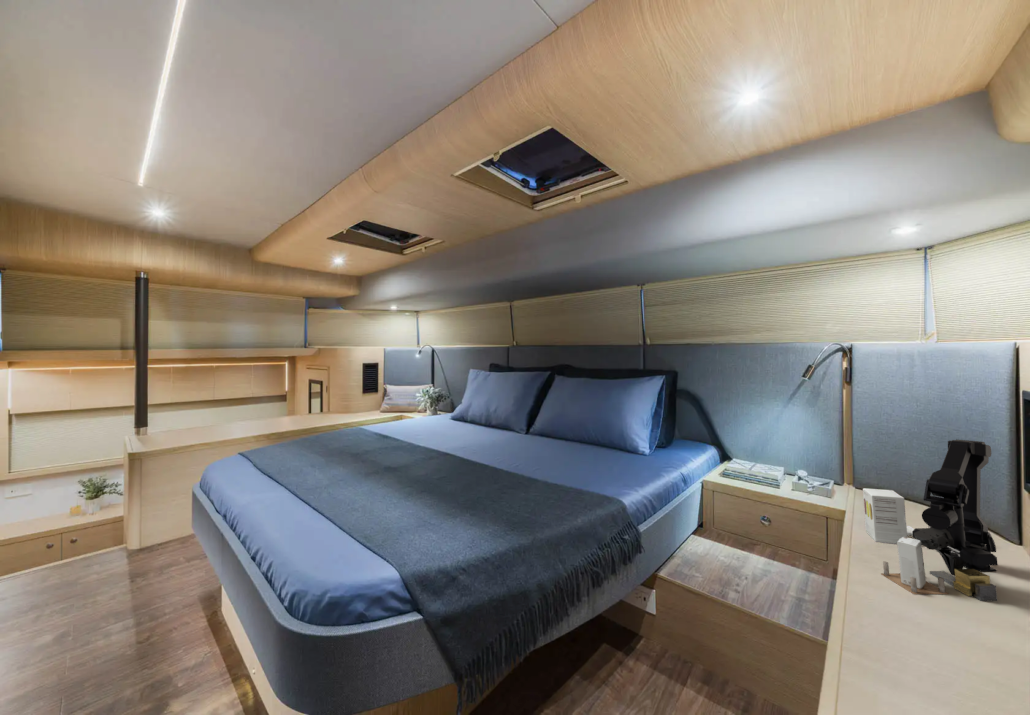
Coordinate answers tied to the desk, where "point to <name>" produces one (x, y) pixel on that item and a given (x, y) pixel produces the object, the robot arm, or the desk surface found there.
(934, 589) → the peg cradle
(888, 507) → the supplement box
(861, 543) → the desk surface
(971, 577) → the collar
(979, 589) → the rail
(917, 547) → the skincare box
